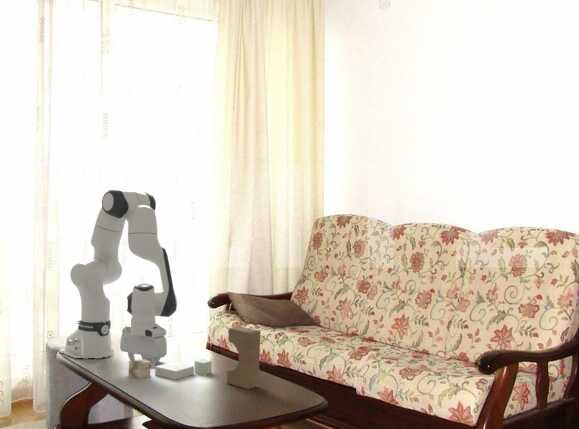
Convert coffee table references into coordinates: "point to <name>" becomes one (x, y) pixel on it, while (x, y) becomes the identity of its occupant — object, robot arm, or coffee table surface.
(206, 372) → the sage cube
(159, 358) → the die
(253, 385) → the decorative block
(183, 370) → the foundation slab
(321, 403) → the coffee table surface
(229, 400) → the coffee table surface
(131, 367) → the beech cube
